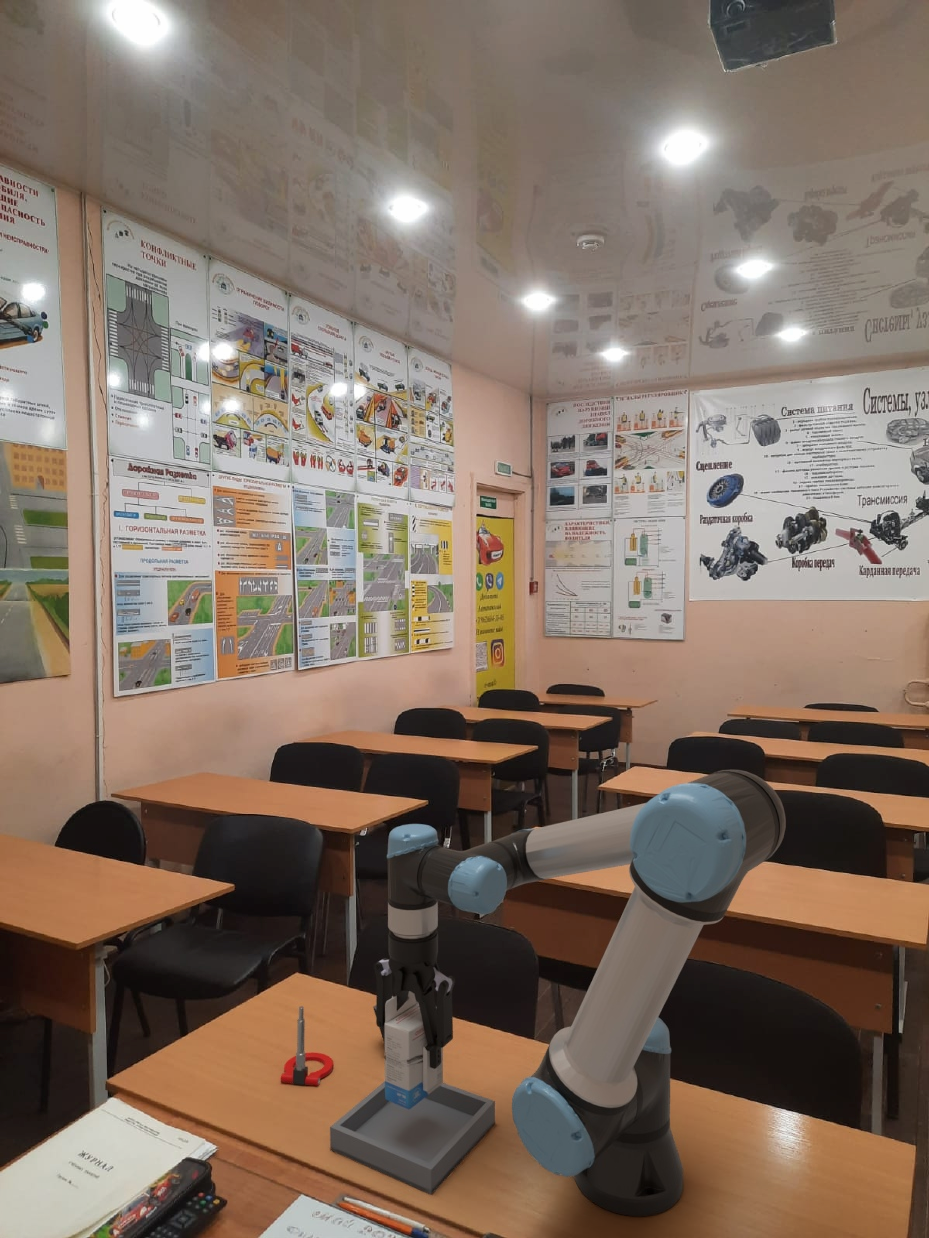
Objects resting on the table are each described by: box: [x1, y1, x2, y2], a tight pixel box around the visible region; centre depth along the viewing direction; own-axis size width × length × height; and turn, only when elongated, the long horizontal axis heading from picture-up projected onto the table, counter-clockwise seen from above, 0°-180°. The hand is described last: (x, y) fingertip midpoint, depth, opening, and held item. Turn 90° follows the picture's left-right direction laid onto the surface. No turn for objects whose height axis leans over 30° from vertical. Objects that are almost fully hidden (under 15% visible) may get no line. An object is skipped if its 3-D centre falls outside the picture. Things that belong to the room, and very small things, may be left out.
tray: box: [329, 1080, 496, 1196], centre depth 125 cm, size 18×18×4 cm
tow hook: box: [280, 1005, 334, 1087], centre depth 143 cm, size 8×13×9 cm
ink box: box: [384, 991, 444, 1109], centre depth 125 cm, size 9×5×15 cm, turn 144°
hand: (414, 1080), depth 125 cm, fingers closed on ink box, 5 cm apart
